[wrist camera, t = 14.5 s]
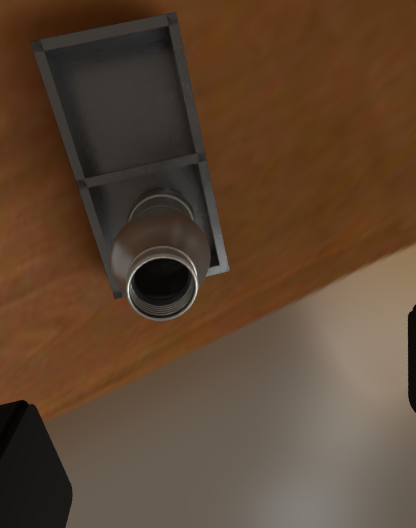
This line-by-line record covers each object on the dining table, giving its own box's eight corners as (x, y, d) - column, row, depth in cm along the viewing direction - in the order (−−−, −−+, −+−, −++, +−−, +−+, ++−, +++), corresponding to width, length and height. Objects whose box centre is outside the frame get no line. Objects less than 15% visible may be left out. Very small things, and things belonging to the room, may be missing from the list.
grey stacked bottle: (204, 225, 38) (251, 299, 19) (153, 260, 38) (146, 368, 19) (169, 173, 35) (181, 197, 17) (115, 211, 36) (65, 277, 17)
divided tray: (49, 57, 32) (30, 41, 27) (173, 32, 33) (175, 12, 28) (120, 281, 39) (114, 299, 34) (221, 256, 40) (229, 270, 35)
